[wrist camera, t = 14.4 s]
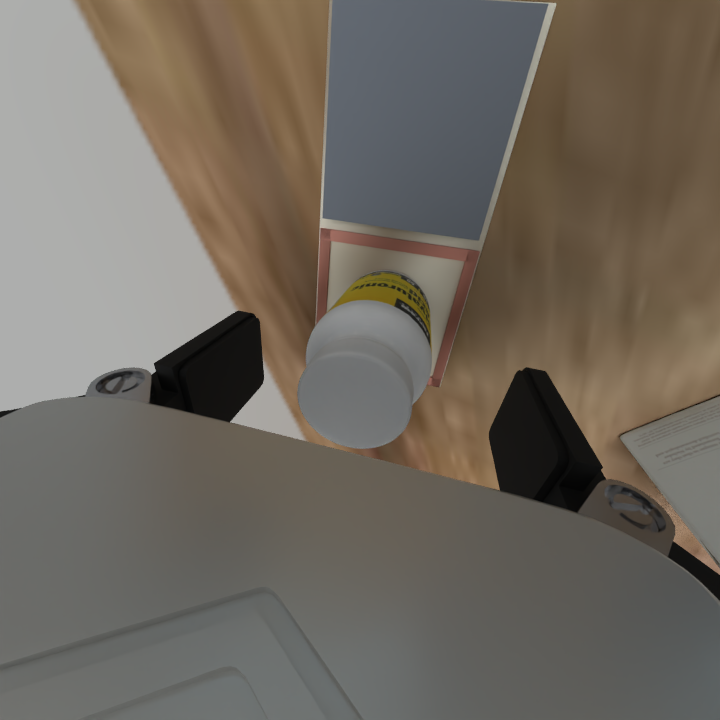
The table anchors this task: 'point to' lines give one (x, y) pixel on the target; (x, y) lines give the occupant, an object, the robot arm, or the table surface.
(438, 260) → the stamping board
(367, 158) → the ink pad
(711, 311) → the table surface
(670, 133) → the table surface
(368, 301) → the supplement bottle
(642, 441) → the supplement box
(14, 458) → the robot arm
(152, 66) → the table surface
